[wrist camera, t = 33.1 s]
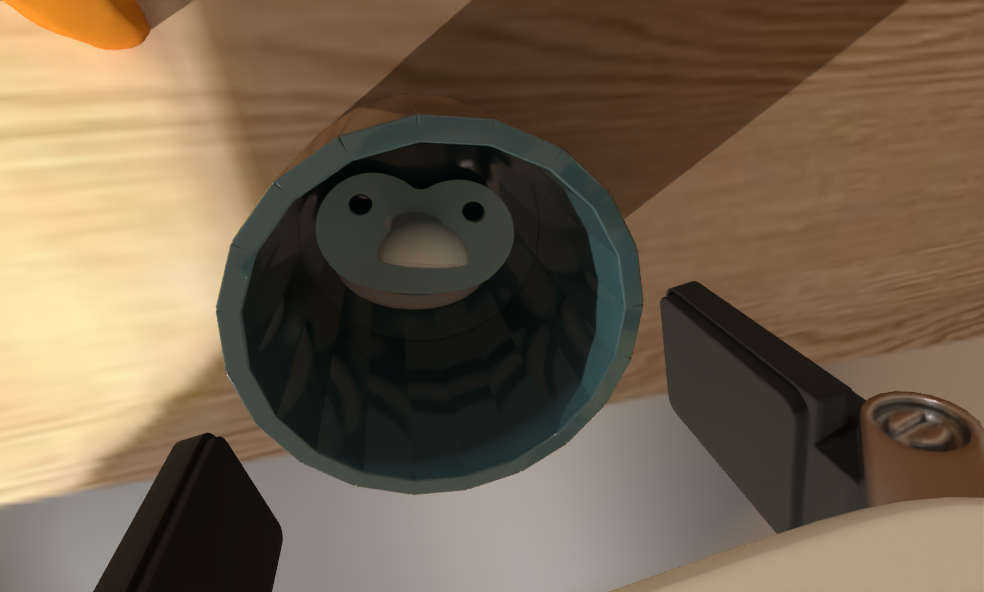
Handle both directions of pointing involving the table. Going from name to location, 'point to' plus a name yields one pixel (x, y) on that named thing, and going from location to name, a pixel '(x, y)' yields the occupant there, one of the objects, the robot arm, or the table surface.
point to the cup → (431, 332)
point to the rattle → (89, 20)
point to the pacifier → (413, 240)
